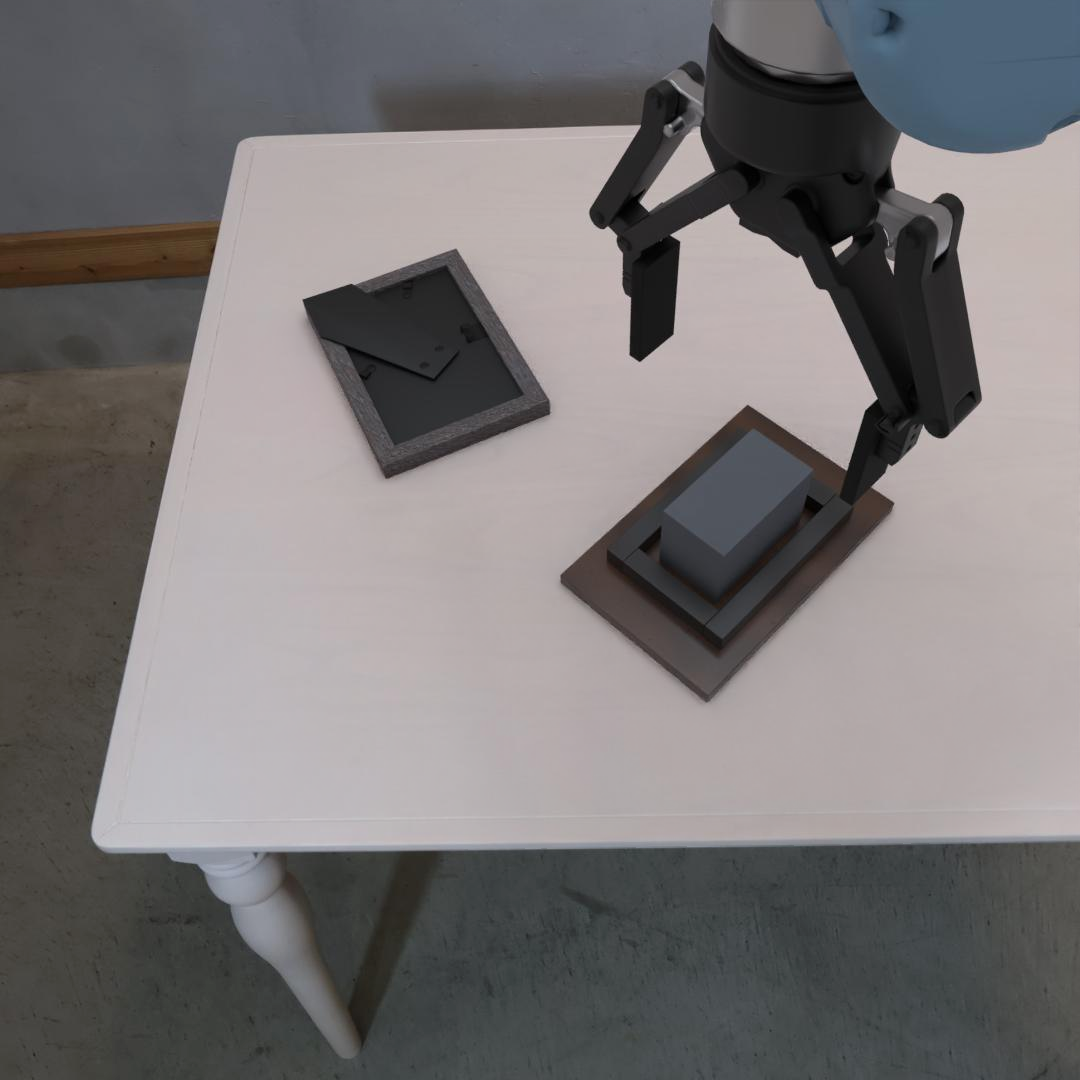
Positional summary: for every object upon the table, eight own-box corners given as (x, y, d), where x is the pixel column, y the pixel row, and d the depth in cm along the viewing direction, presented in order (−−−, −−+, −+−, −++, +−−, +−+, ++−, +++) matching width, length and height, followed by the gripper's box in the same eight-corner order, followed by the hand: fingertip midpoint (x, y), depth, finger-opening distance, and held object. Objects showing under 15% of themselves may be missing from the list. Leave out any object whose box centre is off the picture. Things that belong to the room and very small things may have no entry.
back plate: (746, 412, 84) (749, 390, 82) (892, 510, 79) (900, 490, 77) (560, 582, 77) (559, 563, 75) (707, 702, 72) (710, 686, 70)
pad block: (743, 480, 80) (753, 427, 75) (800, 520, 78) (814, 469, 73) (658, 559, 76) (662, 510, 71) (715, 604, 74) (723, 556, 69)
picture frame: (307, 317, 91) (386, 478, 82) (302, 299, 90) (381, 462, 81) (458, 262, 94) (550, 413, 85) (455, 244, 92) (549, 396, 83)
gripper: (1208, 120, 36) (1008, 503, 54) (627, -134, 46) (620, 258, 64) (1083, 242, 33) (916, 603, 51) (495, -56, 43) (527, 330, 61)
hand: (751, 412), depth 57 cm, fingers open, 13 cm apart
